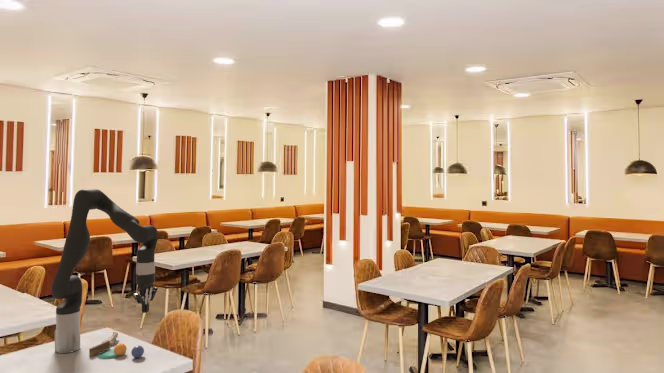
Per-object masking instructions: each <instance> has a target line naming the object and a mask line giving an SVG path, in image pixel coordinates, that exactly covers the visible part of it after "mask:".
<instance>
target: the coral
mask: <svg viewBox="0 0 664 373" xmlns="http://www.w3.org/2000/svg"><path fill="white" fill-rule="evenodd" d="M118 336H119V333H118V332H117V331H113V332H112V335H111V336H109V337H108V338H107V339H104V340H103V341H102V342H101V343H103V342H106V341H110V346H113V345H114V343H115V342H114V341H116V340H117V338H118Z"/></svg>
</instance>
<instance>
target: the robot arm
mask: <svg viewBox="0 0 664 373" xmlns="http://www.w3.org/2000/svg"><path fill="white" fill-rule="evenodd" d="M90 210H99V211H101V212H103V213H105V214H106V215H107V216H108V217H109V218H110V220H111V221H112V222H111V223H113V224H114V225H115V226H117V227H118V228H120V229H121V230H123V231H124V232H125V233H126V234H127V235H128V236H129V237H130V238H131V239H132V240H133V241H134V242H136V243H139V244H142V245H141V246H140V247H139V248H138V249H137V251H136V266H135V284H136V285H137V288H136V292H135V293H132V298H134V300H135V301H136V302H137V304H141V312H142V313H144V314H146V313H148V312H150V303H151V302H152V301H153V300H154V298H155V296H156V294H157V293H158V287H155V285H154V283H155V282H156V264H155V250H156V248H157V243H158V240H159V239H158V238H159V232H158V229H157V227H156V226H154V225H152V224H149V225H141V224H140V220H139V219H138V218H137V217H135V216H134V215H133V214H130V213H128V212H127V211H125V210H124V209H123V208H121V207H120V206H119V205H118V204H116V203H115V201H113V200H112V199H111V198H109V197H108V195H107V194H106V193H104V192H103V191H102V190H100V189H98V188H83V189H79V190H78V191H77V192H76V193H75V196H74V198H73V204H72V210H71V217H70V222H69V227H68V231H67V234H66V238H65V241H64V245H63V249H62V250H63V251H62V254H61V258H60V260H59V264H58V268H57V270H56V273H55V275H54V278H53V280H52V283H51V288H50V292H51V295H52V296H51V297H53V298H54V299H56V300H62V299H63V301H62V302H61V303H60V304H58V306H57V307H56V308H55V321H56V323H55V326H56V327H55V330H54V351H55V352H56V353H58V354H69V353H73V352H76V351H78V350H80V349H81V305H82V300H83V283H82V280H81V278H80V277H79V276H78V275H72V274H73V272H74V270H75V268H76V267H77V266H78V265H79V263H80V262H81V261H82V260H83V258H84V257H85V256H86V254H87V252H88V249H89V244H90V240H91V234H90V232H89V229H88V225H87V221H88V220H87V219H88V214H89V211H90Z"/></svg>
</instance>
